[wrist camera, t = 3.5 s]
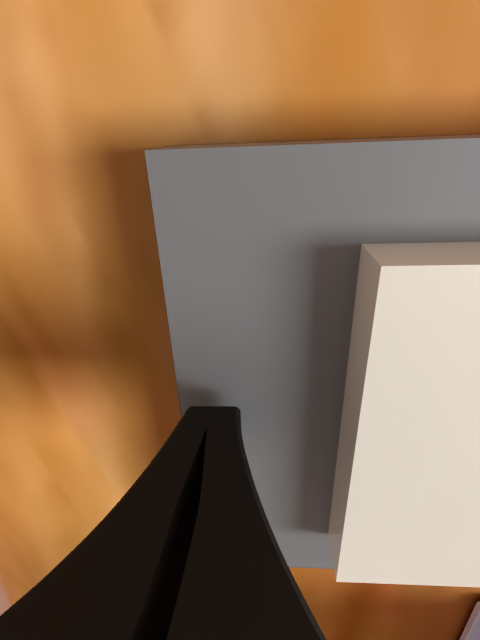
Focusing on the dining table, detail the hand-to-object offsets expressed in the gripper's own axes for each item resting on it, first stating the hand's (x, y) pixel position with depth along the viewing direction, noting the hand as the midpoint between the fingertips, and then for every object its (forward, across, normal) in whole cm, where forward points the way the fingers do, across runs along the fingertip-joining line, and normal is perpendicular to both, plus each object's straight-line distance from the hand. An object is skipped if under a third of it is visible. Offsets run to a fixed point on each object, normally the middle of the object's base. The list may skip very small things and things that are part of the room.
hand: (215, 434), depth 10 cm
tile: (+1, -7, 0) cm, 7 cm away
